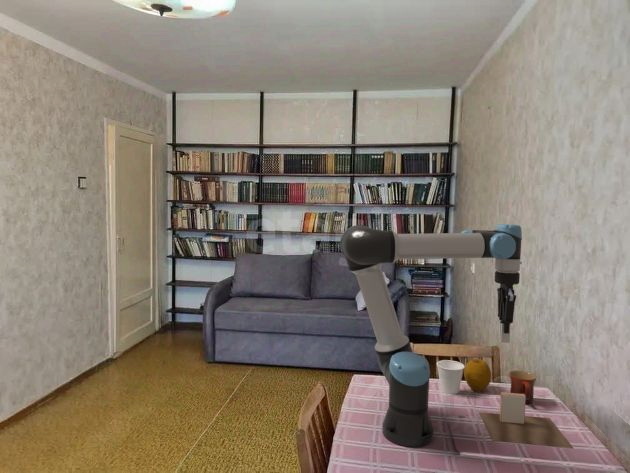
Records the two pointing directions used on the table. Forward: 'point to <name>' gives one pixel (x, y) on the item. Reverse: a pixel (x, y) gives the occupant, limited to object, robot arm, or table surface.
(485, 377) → the apple
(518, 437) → the board
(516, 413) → the tile
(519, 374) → the mug
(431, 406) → the table surface
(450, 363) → the cup
